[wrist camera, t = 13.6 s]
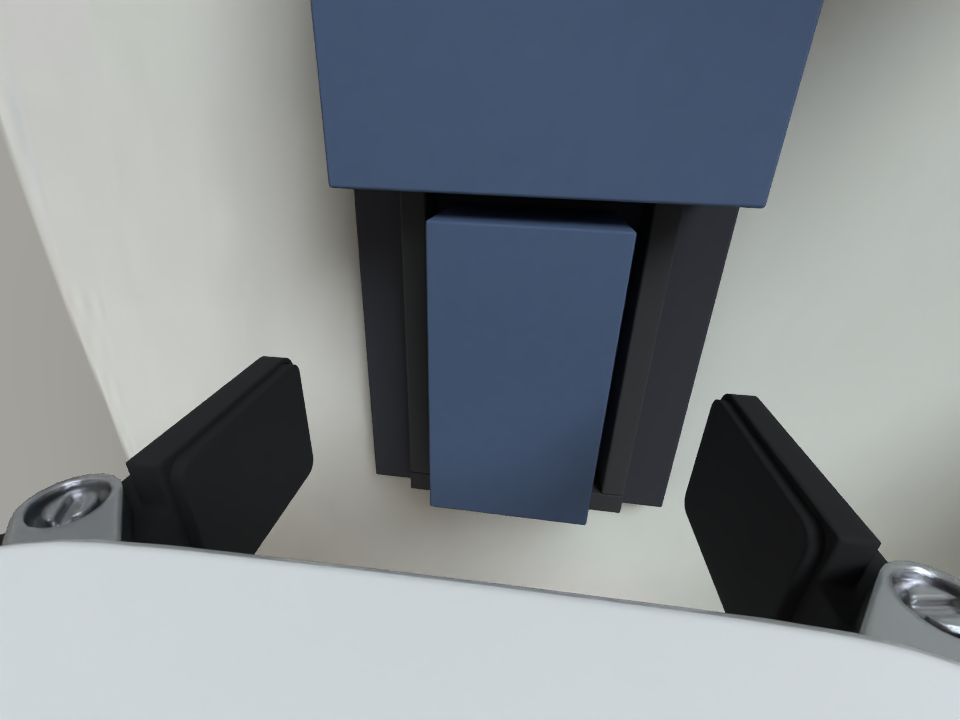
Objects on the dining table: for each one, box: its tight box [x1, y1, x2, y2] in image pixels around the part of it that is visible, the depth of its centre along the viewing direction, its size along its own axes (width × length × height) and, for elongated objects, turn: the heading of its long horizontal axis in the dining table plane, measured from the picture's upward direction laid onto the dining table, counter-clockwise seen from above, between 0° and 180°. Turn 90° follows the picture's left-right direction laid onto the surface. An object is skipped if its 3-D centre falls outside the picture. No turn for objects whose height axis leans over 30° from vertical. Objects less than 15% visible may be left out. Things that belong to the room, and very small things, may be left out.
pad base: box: [311, 0, 823, 513], centre depth 13 cm, size 12×22×5 cm, turn 179°
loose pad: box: [426, 203, 637, 525], centre depth 15 cm, size 5×9×4 cm, turn 179°
